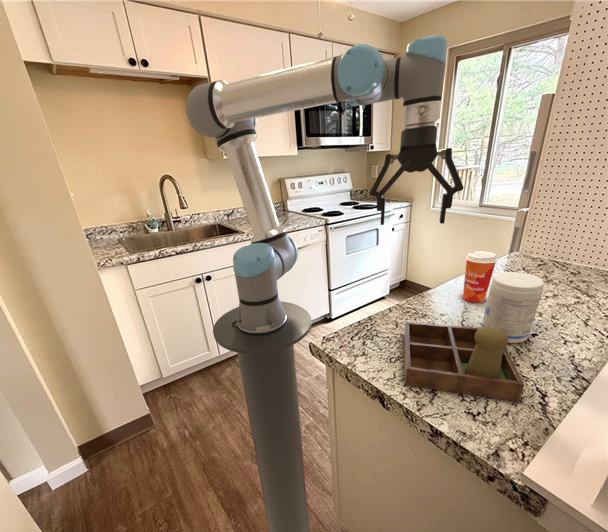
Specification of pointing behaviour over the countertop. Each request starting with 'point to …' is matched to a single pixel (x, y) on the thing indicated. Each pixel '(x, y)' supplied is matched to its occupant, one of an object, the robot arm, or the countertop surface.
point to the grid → (453, 362)
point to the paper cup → (478, 275)
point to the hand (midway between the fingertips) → (411, 223)
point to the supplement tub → (513, 304)
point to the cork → (487, 352)
